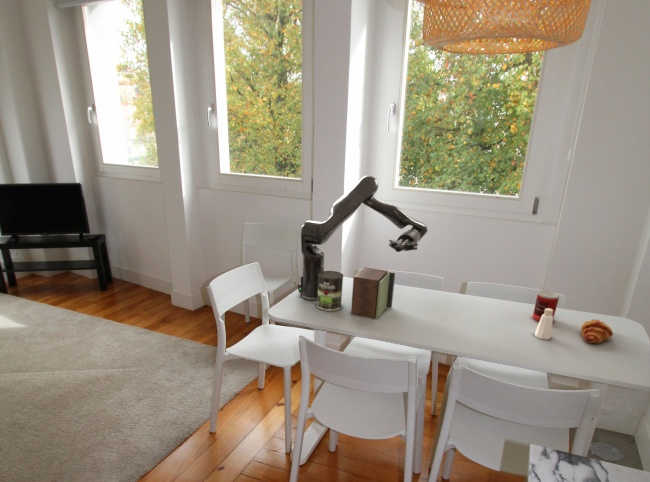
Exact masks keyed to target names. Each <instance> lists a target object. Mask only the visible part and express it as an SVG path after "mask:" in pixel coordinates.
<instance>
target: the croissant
mask: <svg viewBox="0 0 650 482" xmlns="http://www.w3.org/2000/svg"><path fill="white" fill-rule="evenodd" d="M580 329H581V336H582V337H583V339H584V341H585V342H586V343H588V344H600V343H603V342H605V341H607V340H608V339H610V338H611V337H612V336H613V334H614V331H613V329H612V328H611V327H610V326H609V325H608V324H606V323H605V322H604V321H602V320H600V319H591V320H587V321H585V322H584V323H583V324H582V325H581V328H580Z"/></svg>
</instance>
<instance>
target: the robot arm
mask: <svg viewBox="0 0 650 482" xmlns="http://www.w3.org/2000/svg"><path fill="white" fill-rule="evenodd" d="M378 189H379V181H378V180H377V178H375V177H374V176H371V175H365V176H363V177H361V179H359V181H358V182H357V183H356V185H354V186H353V187H352V188H351V189H350V190H349V191H347V192H346V193H345V194H343V195H342V196H341V197H339V198H338V199H337V200H336V201H335V202H334V203H332V204H331V206H330V207H329V208H330V209H329V218H327V219H326V220H325V221H322V222H321V221H316V220H306V221H304V222H303V224H302V226H301V229H300V249H301V255H302V275H300V282H299V283H297V291H298V293H299V295H300V296H299V297H300V298H303V300H308V301H318V274H319V273H320V272H323V271H325V253H324V251H323V250H321V249H320V248H319V247H318V246H321V245H324V244H326V243H327V242H328V241H329V240H330V239H331V237H332V236H333V235H334V233H336V232H337V230H338V229H339V228H340V227H341V226H342V225H343V224H344V223H345V222H346V221H348V220H349V218H351V217H352V216H353V215H354V214H355V213H356V212H357V210H358V209H359V208H360V206H362V204H363V205H365V206H367V207H369V208H370V209H372V210H373V211H374V212H377V213H378V214H380V215H381V216H383V217H384V218H386V219H387V220H388V221H390V222H391V223H392V224H393V225H394V226H395V227H396V228H398V229H399V230H403V229H405V228H406V227H408V226H411V227H410V228H409V229H408V230H406V231H404V232H403V233H402V234H400V235H399V236H398V238H397V239H395V240H393V239H389V240H388V247H390V248H391V249H393V250H394V251H395V252H397V253H400V252H402V251H404V252H409V251H417V250H418V245H419V242H420V241H421V240H422V239H423V238H424V236H425V235H426V234H427V233H428V226H427V225H426V224H425V223H423V222H421V221H419V220H416V219H415V218H412V217H411V216H410V215H408V214H407V213H405V212H404V211H403V210H402V209H401V208H400V207H398V206H396V205H394V204H389V203H384V202H382V201H380V200H378V199H377V198H375V197H374V196H375V194H376V193H377V191H378Z"/></svg>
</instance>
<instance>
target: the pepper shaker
mask: <svg viewBox="0 0 650 482" xmlns="http://www.w3.org/2000/svg"><path fill="white" fill-rule="evenodd" d="M552 312H553V310H552V309H550V308H546V309H545V312H544V314H543V315H542V316H541V319H540V321H539V322H538V324H537V327H536V329H535V332H534V336H535V337H536V338H538V339H540V340H546V341H547V340H549V339H551V336H552V329H553V320H554V319H553V316H552Z"/></svg>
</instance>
